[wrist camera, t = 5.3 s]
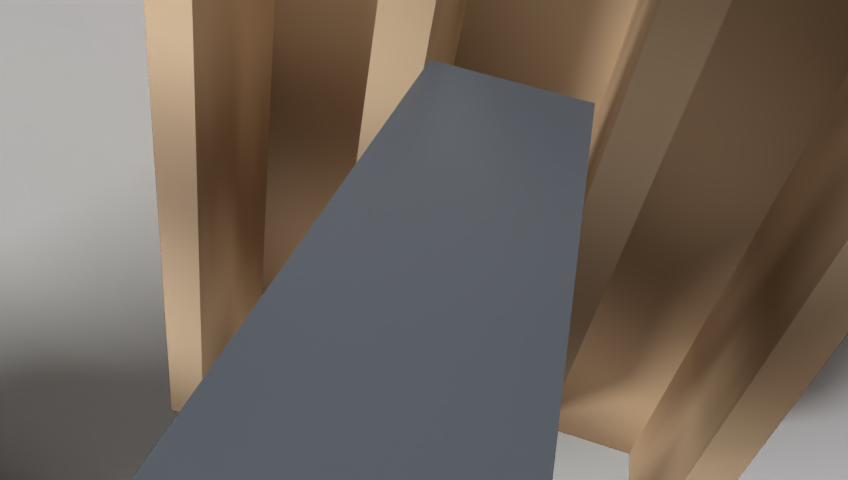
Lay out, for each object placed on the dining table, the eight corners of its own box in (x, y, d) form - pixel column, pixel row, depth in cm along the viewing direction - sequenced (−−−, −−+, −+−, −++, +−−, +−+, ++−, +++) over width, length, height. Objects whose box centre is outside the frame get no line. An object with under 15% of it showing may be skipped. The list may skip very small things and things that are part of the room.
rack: (667, 441, 18) (673, 579, 15) (238, 306, 19) (163, 407, 16) (958, -31, 11) (1086, 47, 8) (248, -199, 12) (117, -189, 9)
